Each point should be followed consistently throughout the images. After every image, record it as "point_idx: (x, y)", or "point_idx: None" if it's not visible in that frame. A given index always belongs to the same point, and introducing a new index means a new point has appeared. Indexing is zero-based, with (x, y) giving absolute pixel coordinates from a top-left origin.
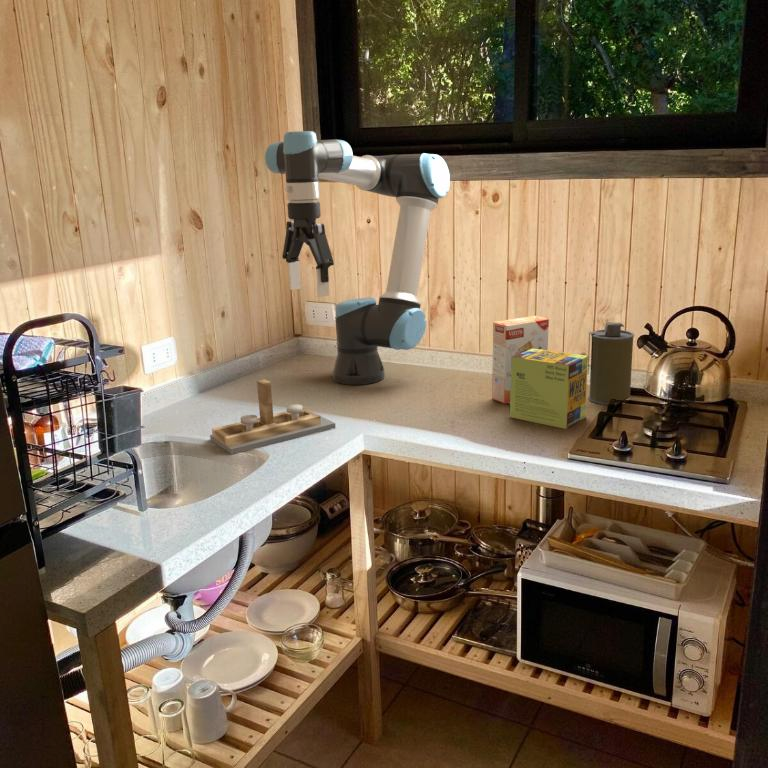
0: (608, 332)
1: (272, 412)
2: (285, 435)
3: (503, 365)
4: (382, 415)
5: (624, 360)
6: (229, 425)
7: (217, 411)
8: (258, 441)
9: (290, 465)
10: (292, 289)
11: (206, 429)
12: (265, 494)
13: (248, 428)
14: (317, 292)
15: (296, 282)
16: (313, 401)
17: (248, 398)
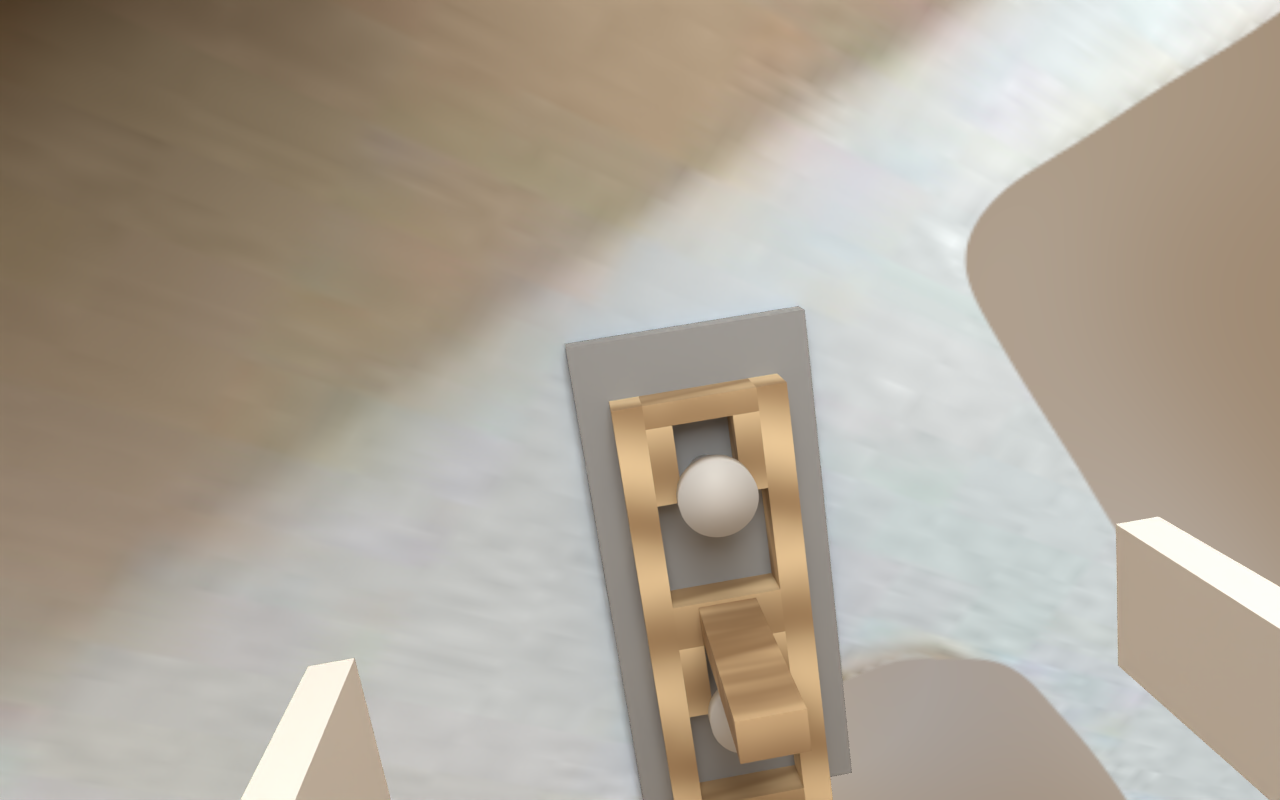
0: None
1: (767, 624)
2: (827, 556)
3: None
4: (758, 15)
5: None
6: (679, 763)
7: (271, 705)
8: (830, 667)
9: (1075, 607)
10: (383, 783)
11: (507, 788)
12: None
13: None
14: (1153, 695)
15: (346, 782)
16: (337, 246)
17: (115, 530)
